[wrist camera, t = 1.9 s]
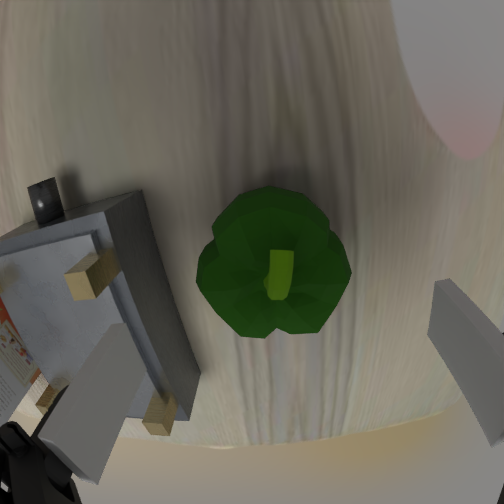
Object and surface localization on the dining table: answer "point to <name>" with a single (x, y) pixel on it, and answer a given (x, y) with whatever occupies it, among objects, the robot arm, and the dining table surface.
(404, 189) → the dining table surface
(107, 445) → the robot arm
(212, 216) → the dining table surface
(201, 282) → the bell pepper
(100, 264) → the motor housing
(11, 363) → the cracker box
